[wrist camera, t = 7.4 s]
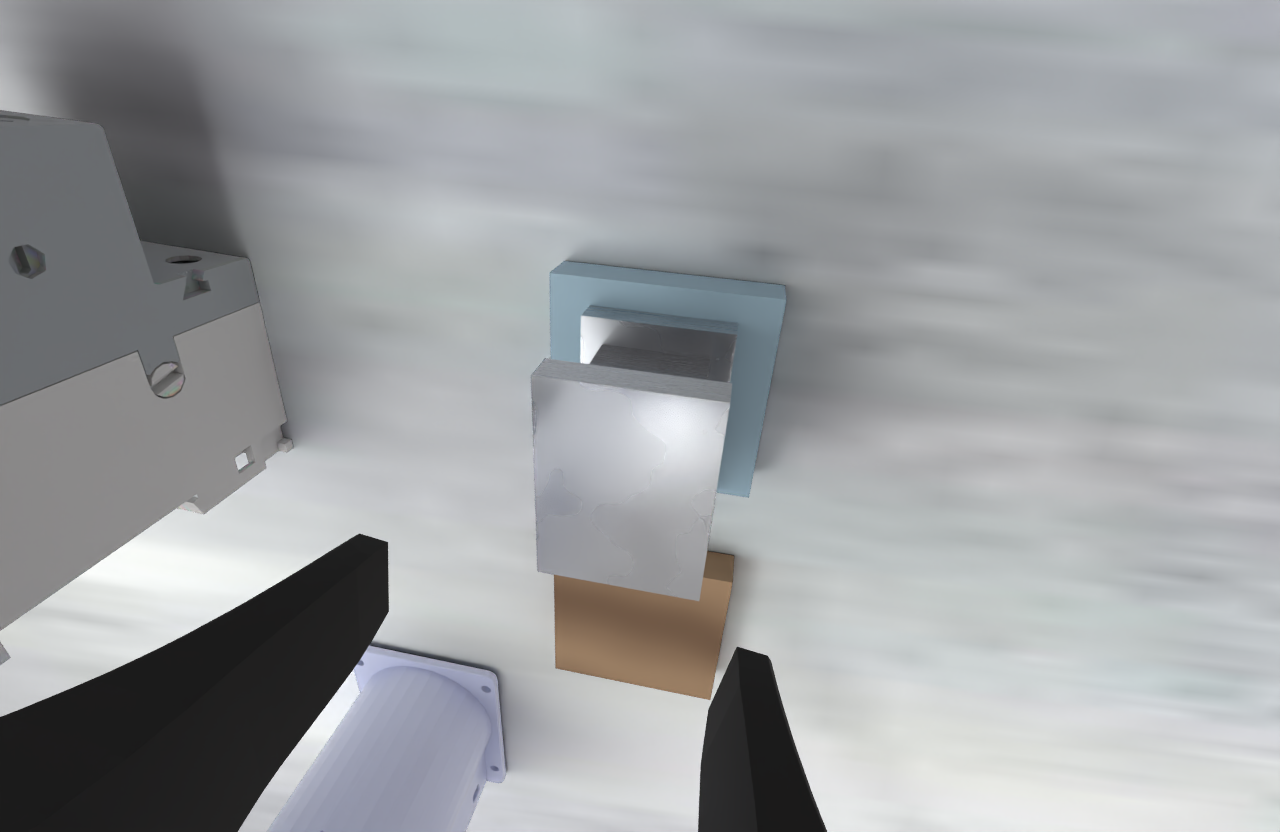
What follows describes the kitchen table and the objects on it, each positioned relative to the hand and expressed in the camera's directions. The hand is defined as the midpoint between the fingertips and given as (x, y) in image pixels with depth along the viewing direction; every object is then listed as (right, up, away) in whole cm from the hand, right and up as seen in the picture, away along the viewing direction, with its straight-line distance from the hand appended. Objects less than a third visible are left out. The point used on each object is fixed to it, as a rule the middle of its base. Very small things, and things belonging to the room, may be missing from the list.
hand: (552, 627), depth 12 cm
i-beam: (+2, +5, +7) cm, 9 cm away
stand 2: (+2, -4, +14) cm, 14 cm away
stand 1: (+3, +6, +8) cm, 10 cm away
